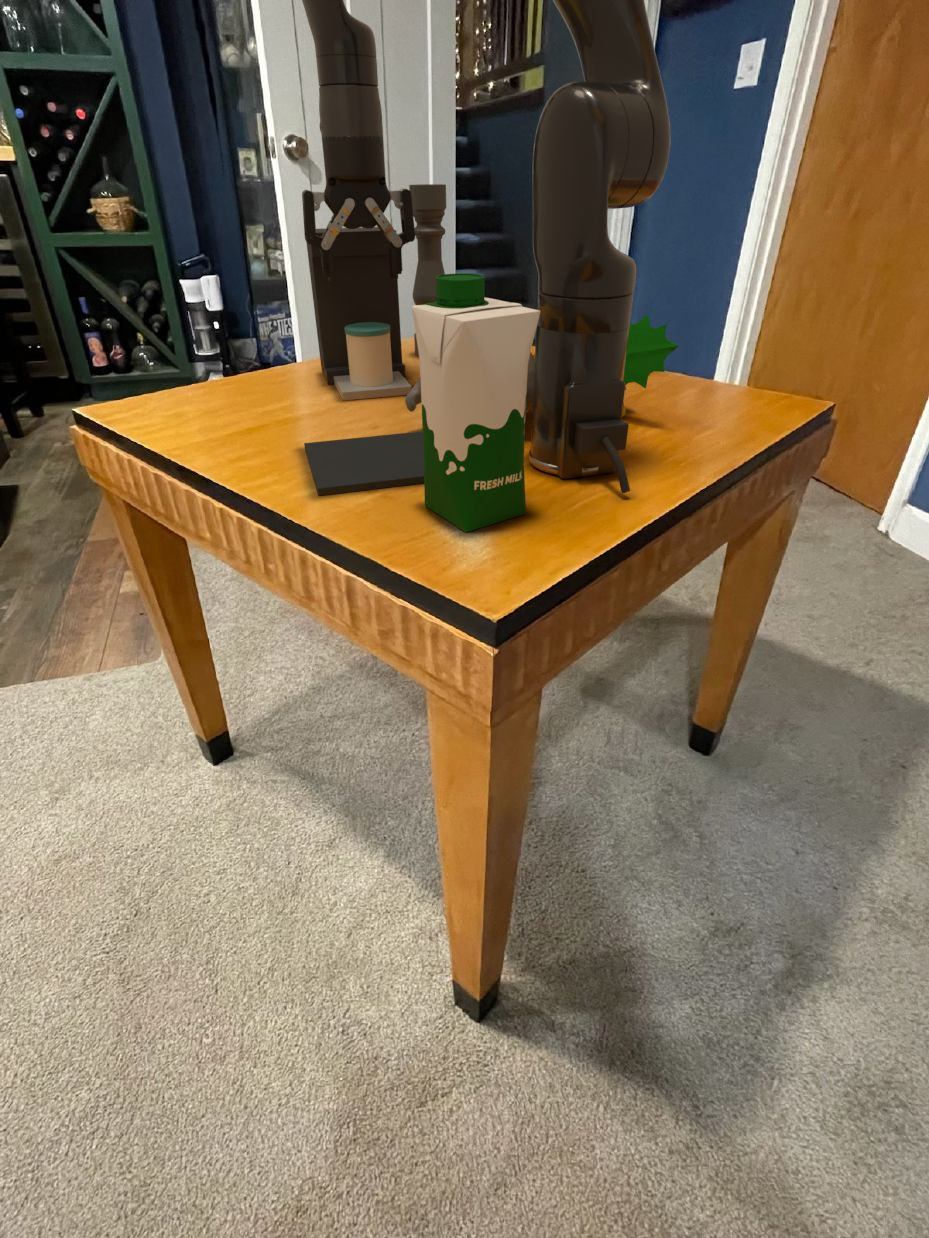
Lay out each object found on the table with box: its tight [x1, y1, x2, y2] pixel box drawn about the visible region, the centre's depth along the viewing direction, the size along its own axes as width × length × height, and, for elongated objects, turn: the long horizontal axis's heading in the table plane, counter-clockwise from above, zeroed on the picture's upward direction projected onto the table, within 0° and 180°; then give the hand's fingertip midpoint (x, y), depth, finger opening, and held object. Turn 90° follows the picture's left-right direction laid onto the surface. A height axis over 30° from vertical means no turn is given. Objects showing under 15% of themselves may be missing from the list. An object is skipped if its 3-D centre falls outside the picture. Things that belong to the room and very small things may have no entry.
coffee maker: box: [305, 226, 413, 402], centre depth 99 cm, size 17×12×20 cm
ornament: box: [533, 313, 679, 418], centre depth 89 cm, size 21×8×15 cm, turn 44°
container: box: [345, 322, 393, 387], centre depth 98 cm, size 6×6×8 cm
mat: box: [304, 431, 424, 496], centre depth 76 cm, size 14×14×1 cm
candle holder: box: [408, 183, 447, 358], centre depth 113 cm, size 6×6×25 cm
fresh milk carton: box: [411, 273, 540, 533], centre depth 60 cm, size 9×9×20 cm
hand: (363, 279), depth 93 cm, fingers open, 8 cm apart
